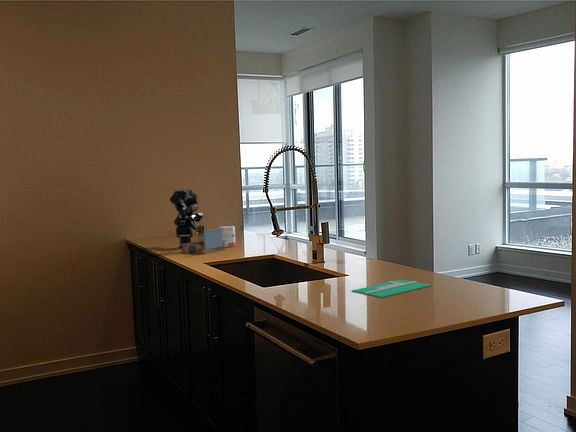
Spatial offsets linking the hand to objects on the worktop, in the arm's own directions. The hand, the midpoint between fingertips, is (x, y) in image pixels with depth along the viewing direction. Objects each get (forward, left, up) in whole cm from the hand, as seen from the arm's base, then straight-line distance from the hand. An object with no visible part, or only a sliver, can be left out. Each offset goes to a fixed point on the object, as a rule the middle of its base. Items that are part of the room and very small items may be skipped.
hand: (196, 229), depth 334 cm
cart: (+4, 0, -12) cm, 13 cm away
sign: (+142, -45, -13) cm, 149 cm away
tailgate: (+13, 0, -10) cm, 16 cm away
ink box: (+5, +20, -12) cm, 24 cm away
